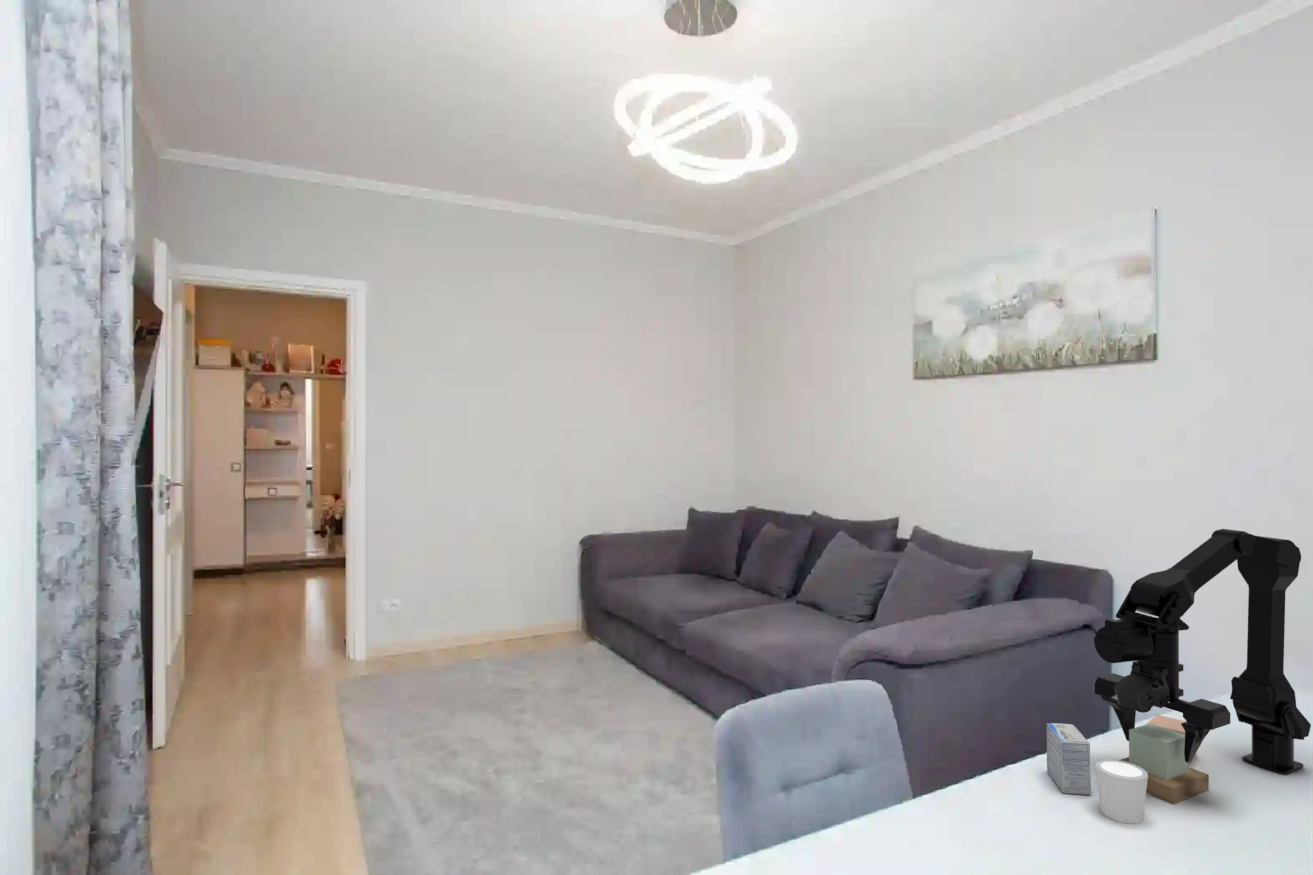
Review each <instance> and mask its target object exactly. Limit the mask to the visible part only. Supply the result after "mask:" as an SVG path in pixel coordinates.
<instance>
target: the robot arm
mask: <svg viewBox="0 0 1313 875" xmlns="http://www.w3.org/2000/svg"><path fill="white" fill-rule="evenodd" d="M1301 561H1302V554H1301V550H1300V548H1299V547H1298V546H1297V545H1296V544H1295V542H1293V541H1292V540H1290V539H1283V538H1276V537H1269V536H1259V535H1254V534H1252V533H1249V532H1247V531H1245V530H1236V529H1228V528H1220V529H1216V530H1214V531H1213V532H1212V534H1211V536H1210V538H1208V539H1207V540H1205V541H1204V542H1203V543H1201V544H1200V545H1199V546H1197V547H1196V548H1195V549H1194V550H1192V551H1191V552H1189V553H1188V554H1187V555H1186V556H1184V557H1183V558H1181V559H1180V560H1179V561H1178V562H1176V563H1175V564H1174V565H1173V566H1171V567H1170V568H1167V569H1165V570H1161V571H1160V570H1159V571H1156V572H1151V573H1148V574H1146V575H1145V576H1142V577H1141V578H1138V579H1136V580H1135V581H1134V582H1133V583H1132V584H1131V586H1130V589H1129V591H1128V593H1127V594H1126V596H1125V598H1124V600H1123V602H1121V603H1122V604H1121V605H1120V606H1119V609H1118V611H1117V612H1116V614H1115V619H1113V618H1107V619H1106V618H1105V620H1104V626H1102V627H1100V628H1099V629H1098V630H1097V631H1096V633H1095V636H1094V637H1093V643H1094V647H1095V650H1096V652H1097V654H1098V656H1099V657H1100V658H1101V659H1102V660H1103V661H1105V662H1106V663H1109V664H1119V663H1120V664H1121V663H1126V662H1128V663H1129V662H1132V664H1131V671H1130V673H1129V674H1127V675H1121V674H1117V673H1115V672H1112V673H1108V674H1105V675H1101V676H1097V677H1096V678H1095V679H1094V681H1093V685H1092V686H1093V688H1092V689H1093V691H1092V692H1093V693H1094V694H1095V695H1098V696H1100V699H1101V700H1102V701H1104V702H1106V703H1107V704H1108V705H1109V706H1110V707H1111V708H1112V709H1113V710H1114V712H1115V714H1116V716H1117V719H1118V721H1119V724H1120V727H1121V729H1122V732H1123V735H1124V737H1125V740H1126V741H1127V742H1129V730H1130V729H1133V728H1136V712H1139V713H1142V714H1145V713H1148V712H1150V711H1151V710H1152V708H1153V707H1155V708H1159V709H1162V708H1167V709H1169V710H1172V711H1176V712H1179V713H1182V717H1183V719H1184V721H1186V722H1184V723H1181V725H1182V727H1183V728H1184V730H1185V746H1184V756H1185V762H1187V763H1189V762H1191V761H1192V759H1193V758H1194V756H1195V754H1196V755H1197V752H1198V750H1199V748H1200V747H1201V744H1202V743H1203V741H1204V740H1205V738H1206V736H1207V735H1208V734H1209V733H1210V732H1211V730H1216V729H1218V728H1221V727H1225V726H1227V725H1230V724H1231V712H1230V711H1229V709H1228V707H1226V705H1224V704H1222V703H1219V702H1214V701H1211V700H1207V699H1204V698H1199V699H1196V700H1193V701H1187V700H1186V701H1185V700H1183V699H1180V697H1184V689H1183V688H1180V672H1184V664H1182V663H1180V656H1179V655H1180V644H1179V643H1180V642H1179V640H1180V638H1179V637H1180V634H1179V633H1180V631H1181V632H1182V631H1188V630H1189V629H1190V626H1189V624H1187V623H1186V622H1184V621H1183V620H1182V619H1181V618H1182V617H1183V616H1184V615H1185V614H1186V612H1187V611H1188V610H1189V609H1190V608H1191V607H1192V606H1194V604H1195V594H1196V592H1198V590H1200V589H1201V588H1202V587H1203V586H1205V585H1206V584H1207V583H1209V582H1210V581H1211V580H1213V579H1214V578H1215V577H1217V575H1219V574H1220V573H1221V572H1223V571H1224V570H1225V569H1227V568H1228V567H1229V566H1231V565H1232V564H1233V563H1234V562H1237V569H1238V572H1239V573H1240V575H1241V576H1242V578H1243V580H1244V582H1245V583H1246V585H1247V586H1248V595H1247V596H1248V599H1247V602H1248V603H1247V638H1246V640H1247V641H1246V644H1247V646H1246V668H1245V669H1244V670H1243V672H1242V673H1241V674H1239V676H1233V677H1231V678H1232V679H1231V693H1230V694H1231V695H1230V698H1229V699H1230V700H1231V701H1232V705H1233V709H1234V710H1235V713H1236V717H1237V720H1238V722H1240V723H1244V724H1247V725H1250V726H1251V753H1249V754H1247V755H1244V756H1242V757H1241V760H1242V761H1244V762H1246V763H1250V764H1253V765H1256V766H1258V767H1262V768H1265V769H1267V770H1271V771H1274V772H1276V773H1280V774H1283V775H1288V774H1291V773H1293V772H1295V771H1297V770H1300V769H1302V768H1304V763H1302V762H1299V761H1296V760H1295V740H1301V741H1304V740H1305V738H1307V737H1309V735H1310V732H1311V726H1312V725H1311V723H1310V721H1309V720H1308V719H1307V718H1306V717H1305V716H1304V714H1303V713H1302V712H1301V711H1300V710H1299V708H1298V707H1297V698H1296V692H1295V690H1294V688H1293V687H1292V685H1291V683H1290V682H1289V679H1288V678H1287V677H1286V676H1285V673H1284V668H1285V667H1284V664H1285V662H1284V661H1285V629H1286V628H1285V626H1286V625H1285V621H1286V591H1287V590H1288V588H1289V587H1290V586H1291V584H1292V583H1293V582H1294V581H1295V580H1296V579H1297V578H1298V576H1299V572H1300V571H1299V570H1300V564H1301ZM1192 762H1193V761H1192ZM1192 762H1191V763H1192Z"/></svg>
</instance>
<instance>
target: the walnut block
mask: <svg viewBox="0 0 1313 875" xmlns="http://www.w3.org/2000/svg"><path fill="white" fill-rule="evenodd" d="M1117 760H1118V759H1117ZM1118 761H1124V762H1128V763H1129V756H1127V757H1125V758H1121V759H1119V760H1118ZM1147 774H1148V780H1147V789H1146V795H1150V796H1152V797H1155V798H1157V799H1159V800H1162V801H1164V802H1167V803H1169V804H1172V805H1175V804H1177V803H1180V802H1182V801H1185V800H1187V799H1189V798H1192V797H1194V796H1197V795H1199V794H1202V793H1204V792H1207V791H1209V790H1210V788H1209V787H1210V782H1209V779H1210V776H1209V774H1207V773H1205V772H1203V771H1200V770H1197V769H1194V768H1192V767H1189V772H1188V773H1186V774H1183V775H1180V776H1178V777H1175V778H1172V779H1170V780H1165V779H1162V778H1160V777H1157V776H1155V775H1152V774H1150V773H1147Z"/></svg>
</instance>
